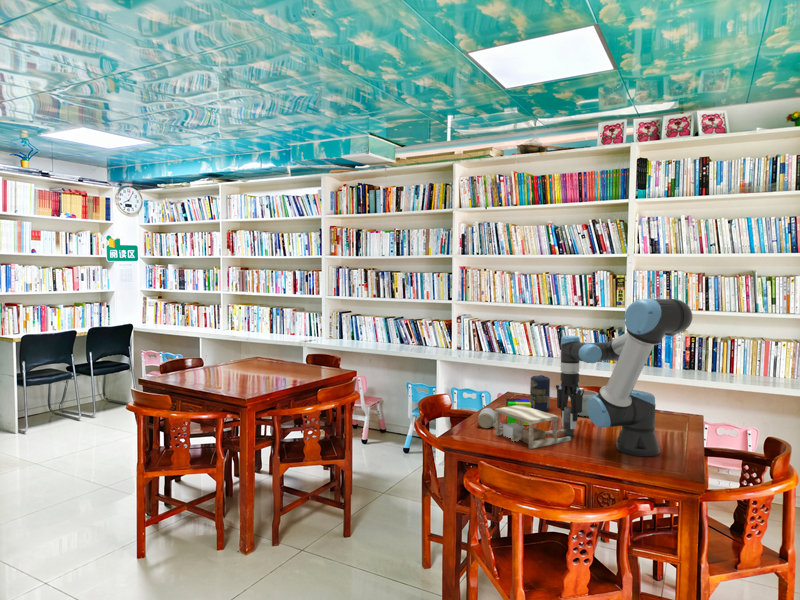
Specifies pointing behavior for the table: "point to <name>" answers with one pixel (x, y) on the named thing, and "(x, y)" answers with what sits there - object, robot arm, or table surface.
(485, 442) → the table surface
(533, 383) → the canister
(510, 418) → the puzzle toy
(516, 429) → the grey block
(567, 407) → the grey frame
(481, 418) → the ceramic mug
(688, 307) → the robot arm
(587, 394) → the planter
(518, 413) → the lane shelf
